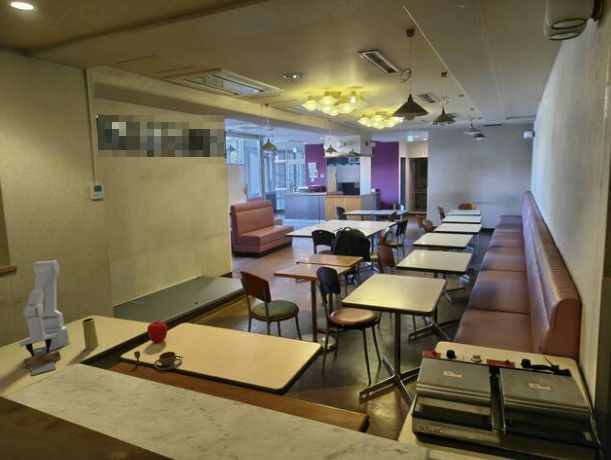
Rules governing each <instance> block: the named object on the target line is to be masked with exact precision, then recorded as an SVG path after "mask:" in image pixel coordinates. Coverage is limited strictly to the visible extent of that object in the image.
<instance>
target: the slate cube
mask: <svg viewBox="0 0 611 460" xmlns="http://www.w3.org/2000/svg"><path fill="white" fill-rule="evenodd" d="M44 346H45V347H44ZM44 346H42V347H37V348H33V351H34V357H35V356H39V355H43V354H47V349H46V345H44Z"/></svg>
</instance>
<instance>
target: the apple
mask: <svg viewBox="0 0 611 460" xmlns="http://www.w3.org/2000/svg"><path fill="white" fill-rule="evenodd" d="M147 334H148V337H149V339H150V342H152V343H154V344H160V343H162V342H163V341H164V340H165V339H166V337H167V334H168V325H167V323H165V322H164V321H161V320H160V321H159V320H158V321H153V322H151V323H149V325H148V326H147Z"/></svg>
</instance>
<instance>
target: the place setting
mask: <svg viewBox="0 0 611 460" xmlns="http://www.w3.org/2000/svg"><path fill="white" fill-rule="evenodd" d="M133 355H134V359H136V364H137V365H139V364H141V363H140V358H141V351H139V350H137V351H134V353H133ZM158 357H159V358H158V359H156V361H155V362H154V363H153V366H154V368H155V369H156V370H158V371H169V370H173V369H175V368H176V367H175V366H177V365H179V364H180V363H181V364H182V362H183V357H180V356H177V354H176V352H174V351H165V352H163V353H161V354H160V355H159V356H158ZM176 357H179V358H181V361H182V362H181V361H180V360H179V362H178V363H177V364H175V365H173V364H174V363H175V362H176ZM158 361H160V362H159V363H160V364H161V365H162V366H164V365H170V364H172V363H173V364H172V365H170V366H166V367H158V366H156V363H157V362H158ZM181 364H180V365H181ZM180 365H179V366H180ZM174 367H175V368H174ZM177 367H178V366H177Z"/></svg>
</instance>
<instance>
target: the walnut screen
mask: <svg viewBox="0 0 611 460" xmlns="http://www.w3.org/2000/svg"><path fill="white" fill-rule="evenodd" d="M59 360H61V353H60V350H55V351H51V352H49V353H47V354H43V355H39V356H35V357H32V356H31V357H28V358H24V359H23V363H24V368H25V369H30V368H32V367H33V366H37V365H40V364H44V363H48V362H52V361H55V362H56V361H59Z"/></svg>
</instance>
